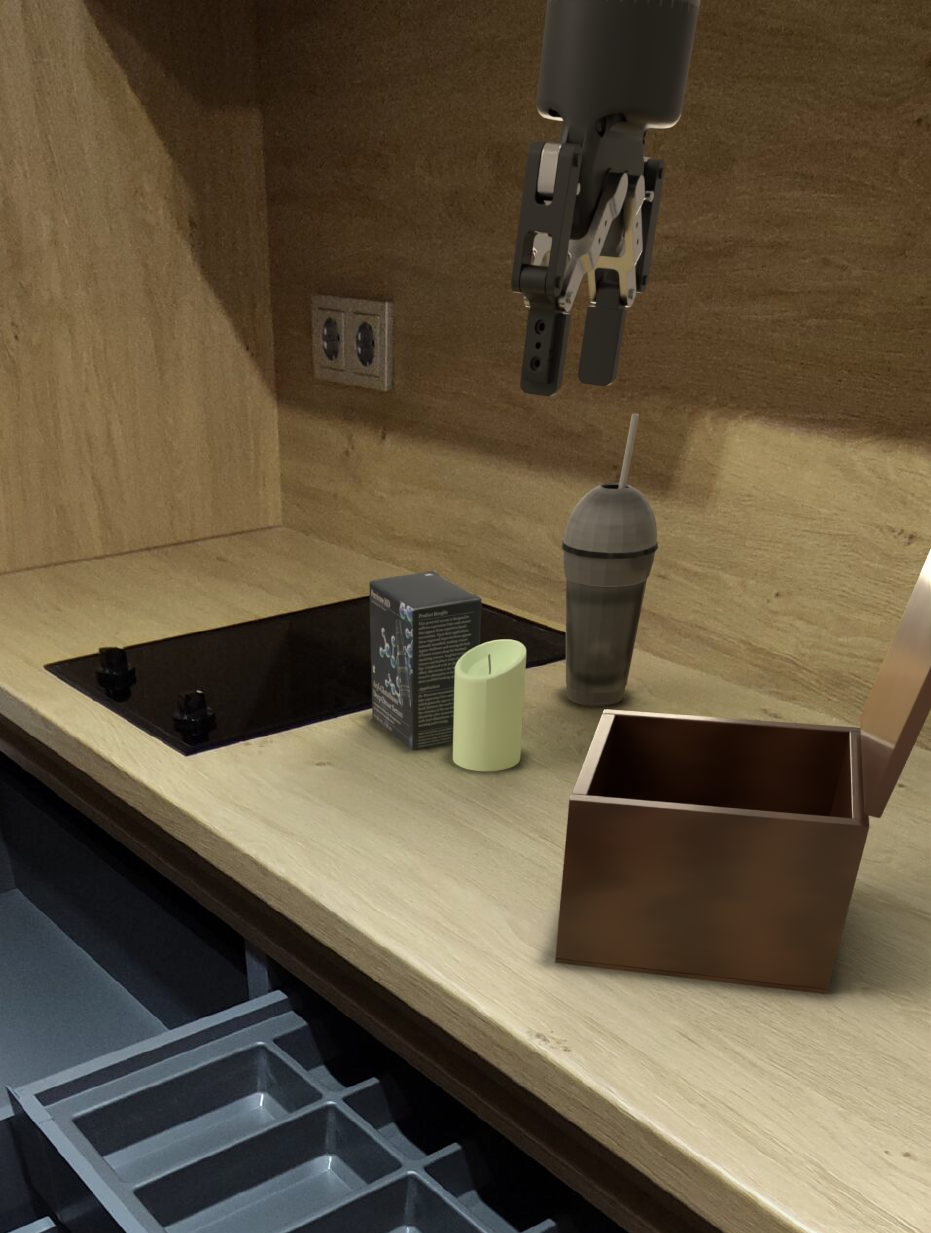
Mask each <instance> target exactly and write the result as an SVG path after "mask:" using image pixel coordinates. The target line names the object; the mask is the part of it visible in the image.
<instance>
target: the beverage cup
mask: <svg viewBox="0 0 931 1233" xmlns="http://www.w3.org/2000/svg"><path fill="white" fill-rule="evenodd" d="M639 418H640V414H639V413H632V414H631V418H630V424H629V427H628V428H629V429H628V433H627V438H626V439H627V440H626V445H625V450H624V456H623V460H622V467H621V470H620V472H621V473H620V477H619V482H607V483H603V484H600V485H598V486H595V487H594V488H592V489H590V490H589V491H588V492H587V493H586V494H585V495H584V496H582V497H581V498H580V499H579V500H578V502H577V503H576V504H575V505H574V507H573V509H572V511H571V513H570V515H569V517H568V520H567V522H566V525H565V529H564V534H563V539H562V541H561V545H560V546H561V550H562V563H563V573H564V577H565V685H566V686H565V687H566V697H567V699H568V700H570V702H573V703H575V704H579V705H582V706H590V707H603V706H605V707H606V706H612V705H615V704H618V703H619V702H621V701H623V697H624V695H625V690H626V687H627V685H628V679H629V674H630V670H631V664H632V659H633V655H634V649H635V644H636V640H637V639H636V638H637V633H638V628H639V622H640V618H641V613H642V608H643V603H644V597H645V592H646V587H647V581H648V579H649V577H650V575H651V571H652V569H653V565H654V561H655V556H656V555H655V554H656V552H657V551H658V549H659V543H658V528H657V527H658V526H657V521H656V516H655V513H654V511H653V508H652V506H651V505H650V502H649V501H648V499H647V498H646V497H645V495H644V494H643V493H642V492H641V491H640V490H638V489H637V488H636V487H635V486H634V487H633V486H632V485H631V484H627V483H628V477H629V471H630V466H631V462H632V456H633V451H634V445H635V439H636V435H637V429H638V422H639Z"/></svg>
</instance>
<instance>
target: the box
mask: <svg viewBox="0 0 931 1233" xmlns="http://www.w3.org/2000/svg"><path fill="white" fill-rule="evenodd" d="M368 585H369V586H368V587H369V629H370V630H369V633H370V634H369V635H370V670H371V672H370V673H371V713H372V714H371V719H372V720H373V721H374V722H376V724H378V725H380V726H381V727H382V728H384V729H385V730H386V731H388V733H390V734H391V735H392V736H394V737H395V738H396V739H397V740H399V741H400V742H402V743H403V744H404V745H405V746H406V747H407V748H408V749H410V751H419V750H424V749H429V748H434V747H440V746H445V745H451V744H452V745H453V726H454V682H455V666H456V663H457V661H458V660H459V659H460V658H461V656H462V655H464V654H465V653H466V652H467V651H469V650H471V649H472V648H474V647H476V646H478V645H481V644H480V643H481V621H482V597H480V596H479V595H477V594H476V593H472V592H470V591H469V590H467V589H465V588H463V587H461V586H459V585H457V584H455V583H453V582H452V581H451V580H448V579H446V578H444V576H442V575H440V574H439V573H437V572H436V571H435V570H429V571H424V572H417V573H410V574H403V575H396V576H390V577H383V578H378V579H373V580H370V581H369V584H368Z"/></svg>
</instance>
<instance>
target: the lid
mask: <svg viewBox="0 0 931 1233" xmlns="http://www.w3.org/2000/svg"><path fill="white" fill-rule="evenodd" d="M867 696H868V697H867V699H866V701H865V703H864V706H863V707H862V711H861V713H860V716H859V725H860V727H859V728H861V748H862V768H863V789H864V809H865V815H868V816H869V817H873V818H876V819H881V818H882V816H883V814H884V812H885V809H886V807H887V806H888V803H889V801H890V799H891V796H892V795H893V792H894V790H895V788H896V786H897V783H898V781H899V779H900V777H901V775H902V773H903V771H904V768H905V766H906V764H907V762H908V759H909V757H910V755H911V753H912V751H913V749H914V747H915V744H916V742H917V740H918V739H919V736H920V733H921V731H922V729H923V727H924V725H925V723H926V721H927V719H928V716H929V714H930V713H931V712H930V711H931V549H930V550H929V552H928V554H927V557H926V559H925V562H924V564H923V566H922V568H921V571H920V573H919V575H918V578H917V580H916V583H915V585H914V587H913V590H912V592H911V594H910V597H909V599H908V602H907V604H906V607H905V609H904V610H903V613H902V616H901V618H900V620H899V623H898V624H897V628H896V630H895V632H894V635H893V637H892V639H891V642H890V644H889V647H888V649H887V651H886V653H885V655H884V658H883V661H882V663H881V666H880V668H879V670H878V673H877V675H876V677H875V680H874V682H873V684H872V687H871V689H870V691H869V694H868V695H867Z"/></svg>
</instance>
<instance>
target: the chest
mask: <svg viewBox="0 0 931 1233" xmlns="http://www.w3.org/2000/svg"><path fill="white" fill-rule="evenodd" d="M870 828H871V827H870V816H868V815H865V809H864V789H863V768H862V748H861V727H855V726H842V725H828V724H817V723H815V724H814V723H802V722H788V721H787V722H786V721H775V720H774V721H772V720H759V719H747V718H745V719H744V718H731V717H718V716H706V715H705V716H704V715H692V714H691V715H689V714H676V713H663V712H661V713H660V712H647V711H635V710H620V709H608V708H606V709H603V711H602V713H601V717H600V719H599V722H598V724H597V727H596V730H595V732H594V734H593V738H592V740H591V743H590V745H589V748H588V750H587V753H586V755H585V759H584V761H583V763H582V766H581V768H580V772H579V774H578V777H577V778H576V781H575V785H574V787H573V790H572V792H571V795H570V797H569V800H568V811H567V821H566V831H565V832H566V833H565V841H564V842H565V844H564V853H563V854H564V855H563V865H562V878H561V886H560V889H561V890H560V898H559V899H560V900H559V910H558V911H559V912H558V922H557V933H556V946H555V956H554V963H555V964H562V965H570V966H578V967H589V968H596V969H603V970H613V971H621V972H631V973H639V974H648V975H656V976H665V977H674V978H681V979H682V978H683V979H692V980H699V981H706V982H707V981H709V982H717V983H724V984H726V983H727V984H734V985H742V986H751V987H761V988H767V989H768V988H769V989H777V990H786V991H795V992H804V993H810V994H811V993H812V994H813V993H814V994H820V995H827V993H828V989H829V985H830V982H831V978H832V974H833V971H834V966H835V963H836V958H837V954H838V950H839V946H840V942H841V939H842V935H843V932H844V928H845V924H846V919H847V916H848V911H849V908H850V904H851V901H852V896H853V892H854V890H855V885H856V882H857V877H858V874H859V870H860V865H861V862H862V858H863V853H864V850H865V846H866V843H867V839H868V835H869V830H870Z"/></svg>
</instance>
